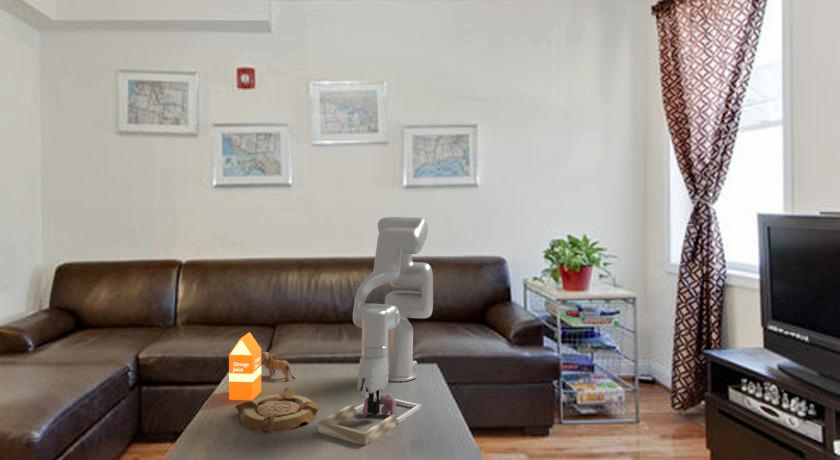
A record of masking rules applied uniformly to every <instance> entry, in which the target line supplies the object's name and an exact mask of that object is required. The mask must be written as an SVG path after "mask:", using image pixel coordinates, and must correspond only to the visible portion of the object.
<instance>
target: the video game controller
mask: <svg viewBox="0 0 840 460" xmlns="http://www.w3.org/2000/svg"><path fill="white" fill-rule="evenodd" d="M395 399H396V398H394V397H392V396H390V395H387V394H383V393H381V399H379V400H380V406H381V405H383V406H382V407H381V408H380V413H382V414H383V415H388V414H390V415H389V416H391V415H392V414H394V415H396V409H397V404H396V401H395ZM363 403H364V406H363V410H362V417H363V418H365V417H367V416H368V414H369V413H368V400H367V398H365V400H364V402H363Z"/></svg>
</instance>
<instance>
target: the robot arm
mask: <svg viewBox="0 0 840 460" xmlns="http://www.w3.org/2000/svg"><path fill="white" fill-rule="evenodd" d="M377 231H378V236H377V242H376V249H375V256H374V265H373V271H372V272H371V273H370V274H369V275H368V276H366V278H364V280H363V281H362V282H361V284H360V285H359V287H358V288H357V290H356V291H355V292H356V294H355V297H354V302H353V303H354V304H353V309H352V310H353V311H352V321H353V324H354V325H355V327H357V328H360V329H361V357H360V360H359V365H358V373H357V385H356V386H357V391H358V392H361V398H364V399H366V398H367V400H368V414H371V415H375V416H376V415H378V414H380V413H381V404H380V400H379V399H381V394H383V391H384V390H385V389H386V386H388V384H389V382H399V383H400V381H401V382H409V380H410V381H413V380H414V378H415V379H416V378H417V377H416V376H417V374H418V373H417V372H416V371H415V370H414V367H416V366H417V365H418V362H417V360H414V358H413V356H414V354H413V353H414V347H413V346H414V345H413V344H414V329H413V326H412V324H411V322H410V321H409V318H411V319H427V318H430V317H431V316H432V314H433V310H434V278H433V277H434V275H433V270H432V269H433V268H432V266H431V265H430V264H429V263H427V262H417V261H416V262H415V261H413V257H412V256H413V255H418V254H419V253H420V252H421V251H422V249H423V247H424V244H425V242H426V240H427V237H428V232H429V227H428V222H427V220H426V219H425V218H422V217H407V216H386V217H382V218H380V219H379V220H378V223H377ZM388 283H389V284H390V286H391V287H393V288H397V289H414V290H418V291H410V290H393V291H390V292H388V293H387V294H386V296H385V299H384V303H367V302H366V300H367V297H368V295H369V294H370V293H371V292H372V291H373V290H375V289H377V288H378V287H380V286H383V285H385V284H388ZM412 379H413V380H412Z"/></svg>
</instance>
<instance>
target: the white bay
mask: <svg viewBox="0 0 840 460" xmlns="http://www.w3.org/2000/svg"><path fill="white" fill-rule="evenodd" d="M394 399H395V401H396V405H397V404H398V405H397V406H403V407H406V406H407V408H410V407H412V408H410V409H409V410H407V411H406V412H404V413H403V414H401V415H400V416H398V417H396V424H401V423H403V422H404V421H405V420H407V419H408V418H409V416H410V415H411V416H413V415H414V414H415V412H416V411H417V412H418V410H419V409H420V408H421V409H422V404H420V403H415V402H410V401H406V400H402V399H396V398H394ZM364 403H365V402H363V403H362V404H360V405H358V406H356V407H355V411H354V414H357V413H360V412H361V411H363V406H364ZM421 409H420V410H421ZM420 410H419V411H420ZM417 412H416V413H417ZM413 413H414V414H413ZM412 414H413V415H412ZM411 416H410V417H411ZM407 417H408V418H407ZM406 418H407V419H406ZM403 420H404V421H403ZM400 422H401V423H400Z"/></svg>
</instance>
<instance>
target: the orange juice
mask: <svg viewBox="0 0 840 460" xmlns="http://www.w3.org/2000/svg"><path fill="white" fill-rule="evenodd" d="M261 353H262V348H261V346H260V345H259V344H258V342H257V340H256V339H255V338H254V336H253V334H252V333H251V332H250V331H249V332H248V333H246V334H245V335H243V336H242V337H241V338H240V339H239V340H238V342H237V343H236V344H235V346H234V347H233V349H232V350H231V352H230V353H229V355H228V371H229V373H228V383H229V384H228V386H229V387H228V393H229V394H228V397H229V398H228V400H230V401H249V400H252V401H254V400H255V398H257V396H258V395H259V394H260V393H261V392H262V364H261Z"/></svg>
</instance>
